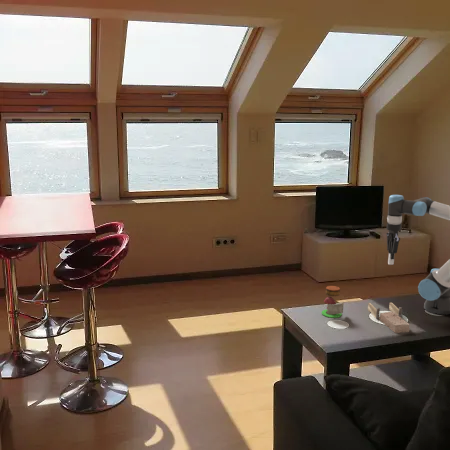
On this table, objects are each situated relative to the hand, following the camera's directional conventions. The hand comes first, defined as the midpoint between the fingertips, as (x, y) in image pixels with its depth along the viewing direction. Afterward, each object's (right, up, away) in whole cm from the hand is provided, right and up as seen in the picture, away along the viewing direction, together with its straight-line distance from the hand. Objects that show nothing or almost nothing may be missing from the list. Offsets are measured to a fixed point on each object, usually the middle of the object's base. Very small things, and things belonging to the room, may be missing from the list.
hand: (390, 264), depth 276 cm
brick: (-6, -30, -22) cm, 38 cm away
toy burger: (-35, -27, -8) cm, 45 cm away
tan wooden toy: (-6, -26, -7) cm, 28 cm away
